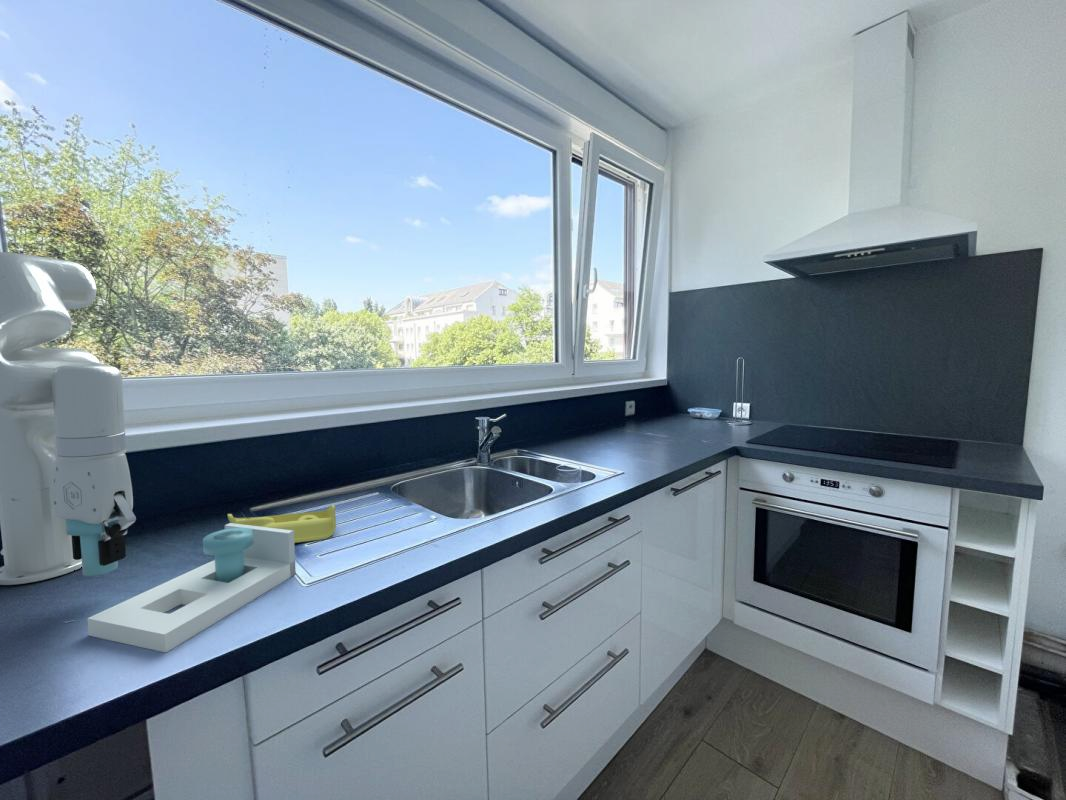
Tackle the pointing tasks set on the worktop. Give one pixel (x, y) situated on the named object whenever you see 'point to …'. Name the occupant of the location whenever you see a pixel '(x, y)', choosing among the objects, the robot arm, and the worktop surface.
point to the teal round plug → (90, 545)
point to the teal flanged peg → (228, 551)
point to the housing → (198, 596)
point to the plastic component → (297, 523)
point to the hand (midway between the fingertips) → (99, 557)
